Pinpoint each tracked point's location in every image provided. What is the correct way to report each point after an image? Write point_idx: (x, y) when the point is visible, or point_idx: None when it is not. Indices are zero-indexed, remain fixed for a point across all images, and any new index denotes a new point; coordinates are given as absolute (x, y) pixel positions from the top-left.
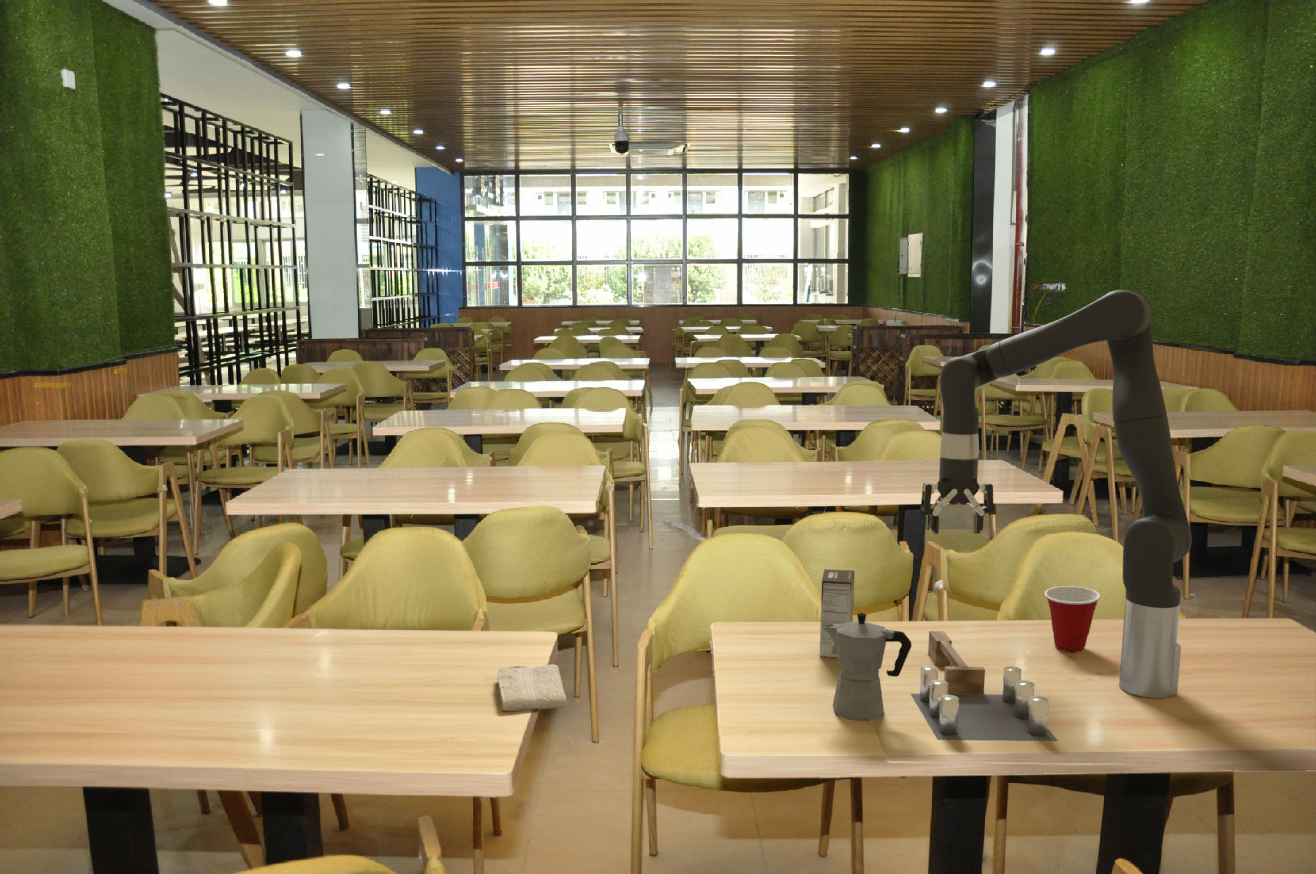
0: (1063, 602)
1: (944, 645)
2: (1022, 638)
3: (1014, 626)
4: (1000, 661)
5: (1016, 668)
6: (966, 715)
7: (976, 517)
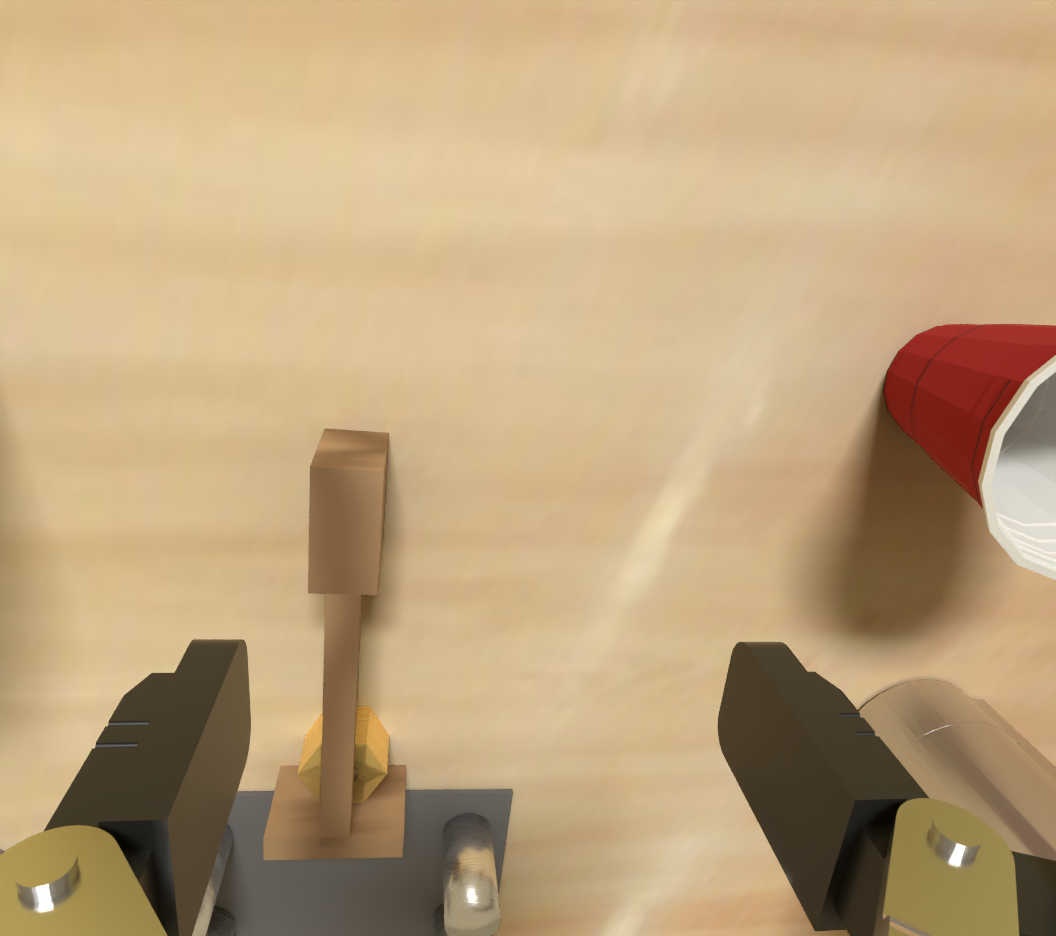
0: (1002, 545)
1: (327, 644)
2: (823, 248)
3: (888, 60)
4: (593, 511)
5: (489, 916)
6: (296, 919)
7: (810, 874)
